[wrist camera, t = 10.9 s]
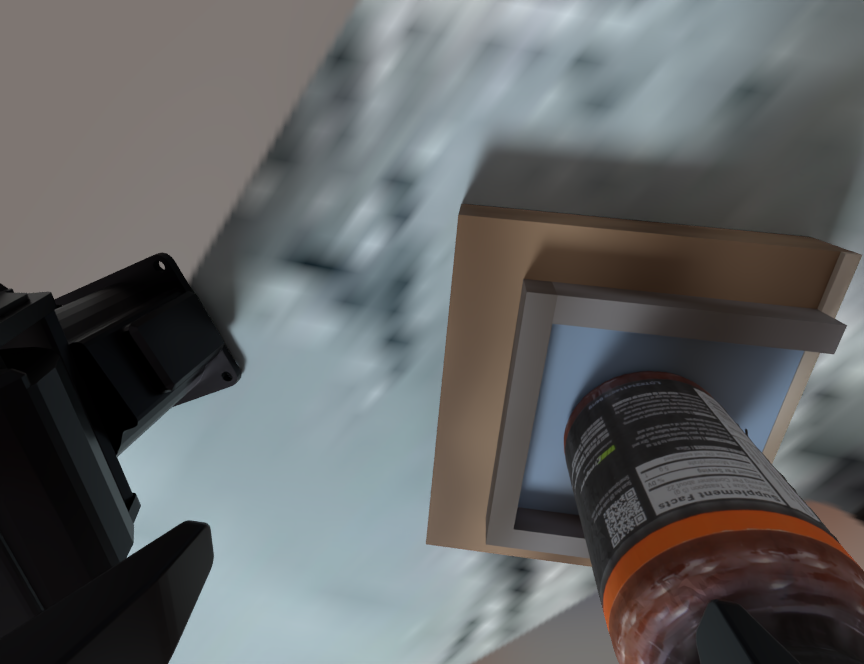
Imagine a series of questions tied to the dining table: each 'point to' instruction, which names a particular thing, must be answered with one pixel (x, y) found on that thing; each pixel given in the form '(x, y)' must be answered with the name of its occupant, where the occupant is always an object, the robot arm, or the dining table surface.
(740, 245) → the tan wooden shallow tray
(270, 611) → the dining table surface
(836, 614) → the supplement bottle
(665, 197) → the dining table surface
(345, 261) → the dining table surface
